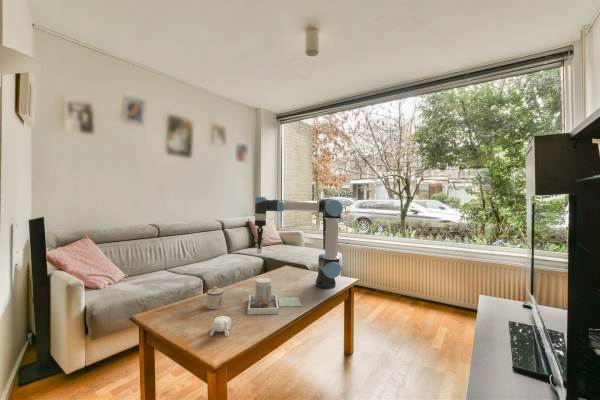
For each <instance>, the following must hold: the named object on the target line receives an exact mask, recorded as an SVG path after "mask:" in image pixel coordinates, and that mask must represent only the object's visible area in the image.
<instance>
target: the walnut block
mask: <svg viewBox="0 0 600 400" xmlns="http://www.w3.org/2000/svg"><path fill="white" fill-rule="evenodd" d="M269 306H270V305H269V303H268V301H267V300H264V301H258V306H257V308H269Z"/></svg>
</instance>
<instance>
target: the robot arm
mask: <svg viewBox="0 0 600 400" xmlns="http://www.w3.org/2000/svg"><path fill="white" fill-rule="evenodd" d="M254 199H255V201H254V215H253V216H254V226H255V227H258V228H256V232H257V233H256V234H257V241H256V242H255V243H256V254H257V255H261V254H262V249H263V240H264V238H263V233H264V228H263V227H266V226H267V221H266V220H267V212H284V211H295V212H296V211H297V212H298V211H299V212H300V211H301V212H316V213H322V214H323V219H325V238H324V239H325V241H324V242H325V244H324V253H322V254H321V253H320V254H318V258H317V262H318V264H317V266H318V267H317V276H316V279H315V281H314V282H315V287H317V288H321V289H332V288H333V287H334V288H335V287H336V285H337V282H336V278H338V277H339V276H340V275H341V272H342V268H341V265H340V256H339V255H338V249H339V247H338V246H339V243H338V242H339V221H340V220H341V219H342V213H343V211H344V206H343V203H342V202H341V201H340V200H339V199H337V198H322V199H319V198H318V199H316V200H302V199H301V200H297V199H296V200H295V199H268V198H267V196H256V197H255V198H254Z"/></svg>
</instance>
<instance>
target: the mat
mask: <svg viewBox="0 0 600 400" xmlns="http://www.w3.org/2000/svg"><path fill="white" fill-rule="evenodd" d="M277 300H278V307H279V308H289V307H291V308H292V307H295V308H297V307H302V303H301V301H300V298H299V297H277Z"/></svg>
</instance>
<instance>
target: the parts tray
mask: <svg viewBox="0 0 600 400" xmlns="http://www.w3.org/2000/svg"><path fill="white" fill-rule="evenodd" d="M255 295H256V294H249V297H248V304H247V305H248V306H247V315H250V316H251V315H275V314H276V315H278V314H279V311H280V309H279V308H280V307H279V301H278V294H271V301H275V307H268V308H258V307H256V308H255V307H253V308H251V303H252V301H255Z"/></svg>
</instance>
